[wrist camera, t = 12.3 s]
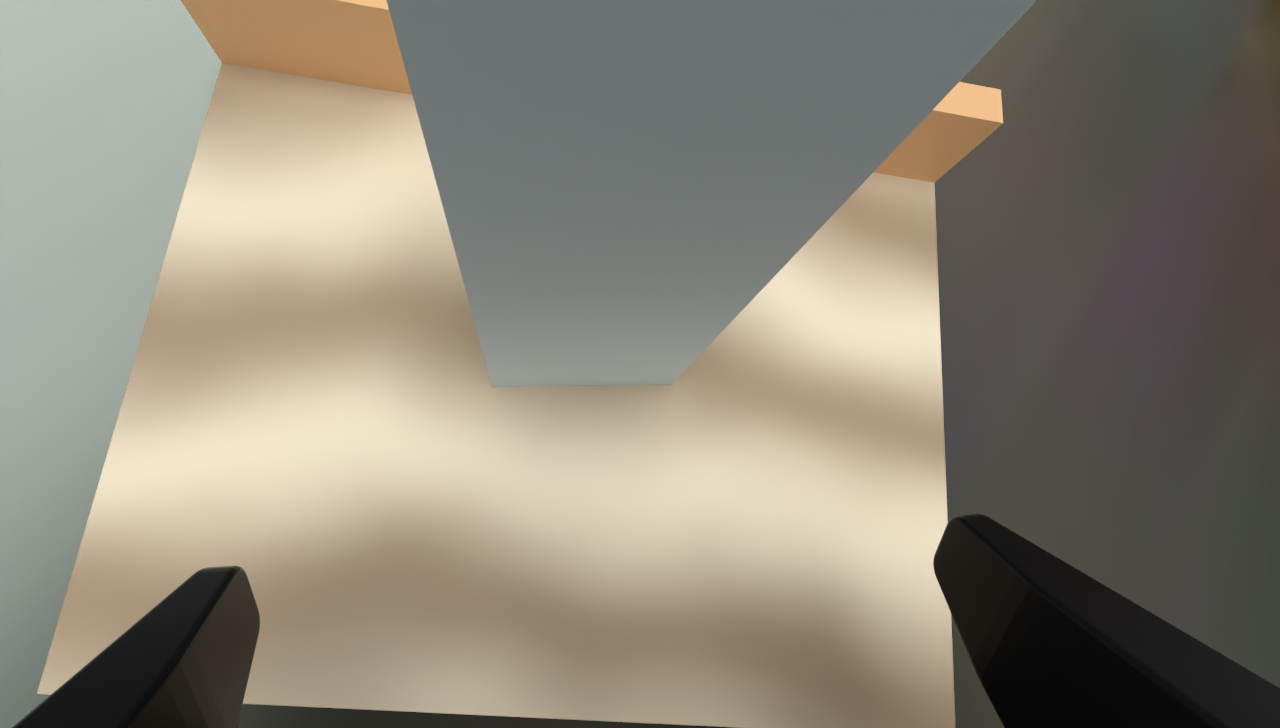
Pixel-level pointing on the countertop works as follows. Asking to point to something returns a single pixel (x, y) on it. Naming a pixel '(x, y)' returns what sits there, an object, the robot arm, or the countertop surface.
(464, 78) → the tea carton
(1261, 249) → the countertop surface
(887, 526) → the shelf board
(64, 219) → the countertop surface
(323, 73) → the price rail
